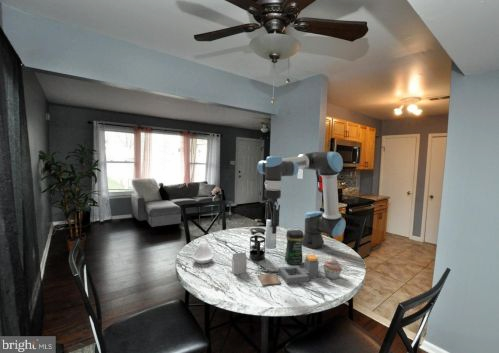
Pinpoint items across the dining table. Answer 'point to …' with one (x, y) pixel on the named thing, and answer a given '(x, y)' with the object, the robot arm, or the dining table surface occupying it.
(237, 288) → the dining table surface
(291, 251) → the coffee jar
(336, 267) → the cupcake
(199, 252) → the spoon rest
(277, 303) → the dining table surface
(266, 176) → the robot arm
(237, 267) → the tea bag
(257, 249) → the french press
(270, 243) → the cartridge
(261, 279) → the pad
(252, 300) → the dining table surface
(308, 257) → the orange block
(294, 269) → the housing
